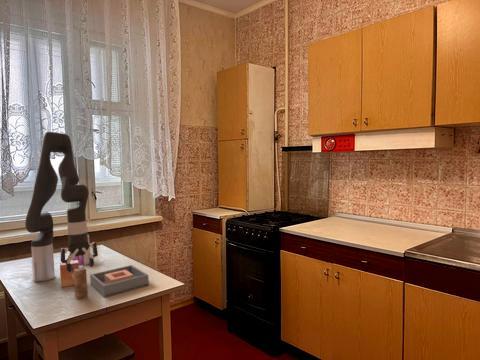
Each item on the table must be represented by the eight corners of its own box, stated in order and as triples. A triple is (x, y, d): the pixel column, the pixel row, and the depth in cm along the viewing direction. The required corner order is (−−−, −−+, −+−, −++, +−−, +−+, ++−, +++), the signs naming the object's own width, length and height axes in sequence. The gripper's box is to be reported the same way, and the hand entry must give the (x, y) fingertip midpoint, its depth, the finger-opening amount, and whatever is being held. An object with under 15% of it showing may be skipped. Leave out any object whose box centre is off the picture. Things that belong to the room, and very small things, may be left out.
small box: (60, 287, 159) (59, 265, 158) (60, 284, 164) (59, 262, 163) (80, 284, 162) (78, 262, 162) (79, 280, 167) (78, 259, 167)
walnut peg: (77, 299, 145) (76, 271, 144) (75, 296, 148) (73, 269, 147) (87, 296, 147) (86, 269, 146) (85, 294, 150) (83, 267, 149)
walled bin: (104, 297, 146) (103, 286, 145) (90, 284, 161) (90, 274, 161) (148, 285, 158) (148, 274, 158) (132, 274, 174) (131, 264, 173)
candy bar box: (71, 263, 197) (70, 234, 196) (79, 260, 201) (78, 233, 200) (83, 265, 191) (81, 236, 190) (91, 263, 195) (89, 234, 194)
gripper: (92, 228, 153) (95, 263, 154) (57, 233, 144) (60, 271, 145) (97, 230, 147) (100, 267, 148) (61, 236, 138) (64, 275, 139)
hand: (80, 269), depth 147 cm, fingers open, 8 cm apart
